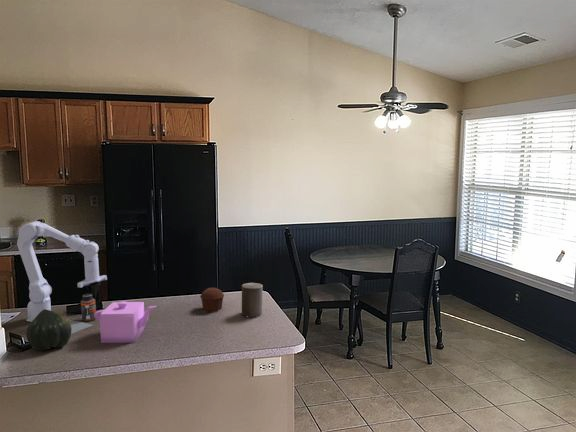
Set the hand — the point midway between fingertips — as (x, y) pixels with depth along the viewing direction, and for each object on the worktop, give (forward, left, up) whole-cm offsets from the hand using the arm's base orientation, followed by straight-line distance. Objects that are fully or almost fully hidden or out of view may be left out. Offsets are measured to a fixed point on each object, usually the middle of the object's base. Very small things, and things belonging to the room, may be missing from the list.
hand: (93, 298), depth 203 cm
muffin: (+41, +33, -9) cm, 53 cm away
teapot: (+29, -9, -9) cm, 32 cm away
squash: (+11, -31, -9) cm, 34 cm away
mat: (0, -15, -9) cm, 17 cm away
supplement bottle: (0, -3, -9) cm, 9 cm away
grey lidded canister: (+62, +35, -9) cm, 72 cm away
